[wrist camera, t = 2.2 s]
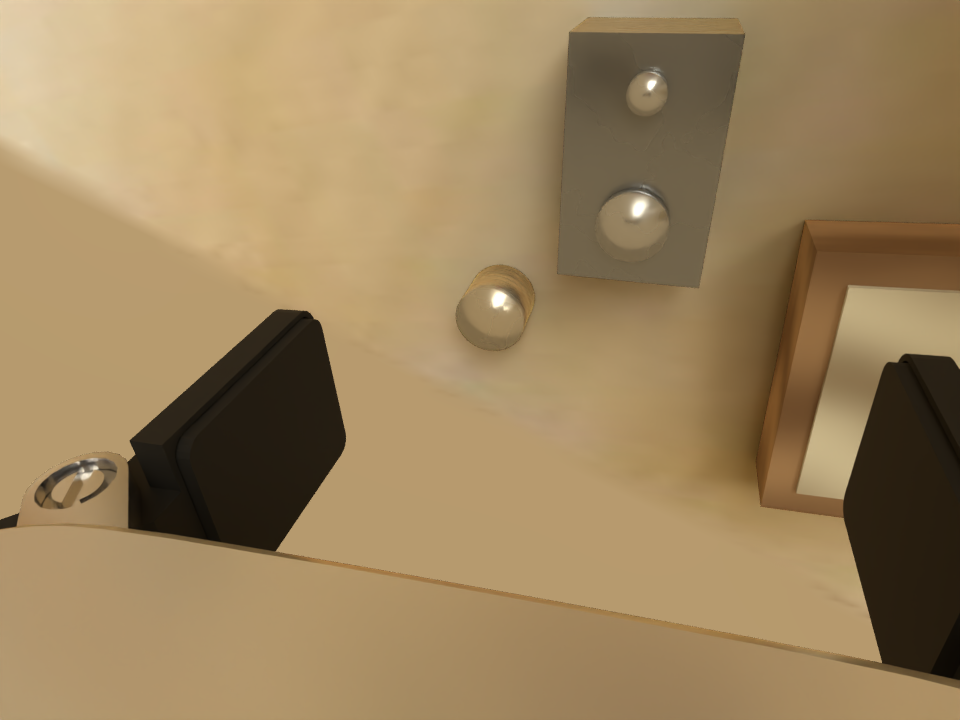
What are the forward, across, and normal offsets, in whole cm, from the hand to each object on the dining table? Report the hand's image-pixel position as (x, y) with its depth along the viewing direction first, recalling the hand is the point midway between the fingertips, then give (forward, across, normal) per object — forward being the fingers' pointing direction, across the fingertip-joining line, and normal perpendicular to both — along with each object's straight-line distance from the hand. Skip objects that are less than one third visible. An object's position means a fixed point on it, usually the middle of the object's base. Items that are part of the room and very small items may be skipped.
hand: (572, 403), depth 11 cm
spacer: (+17, +6, +7) cm, 19 cm away
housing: (+17, 0, 0) cm, 17 cm away
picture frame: (+17, -11, +9) cm, 22 cm away
